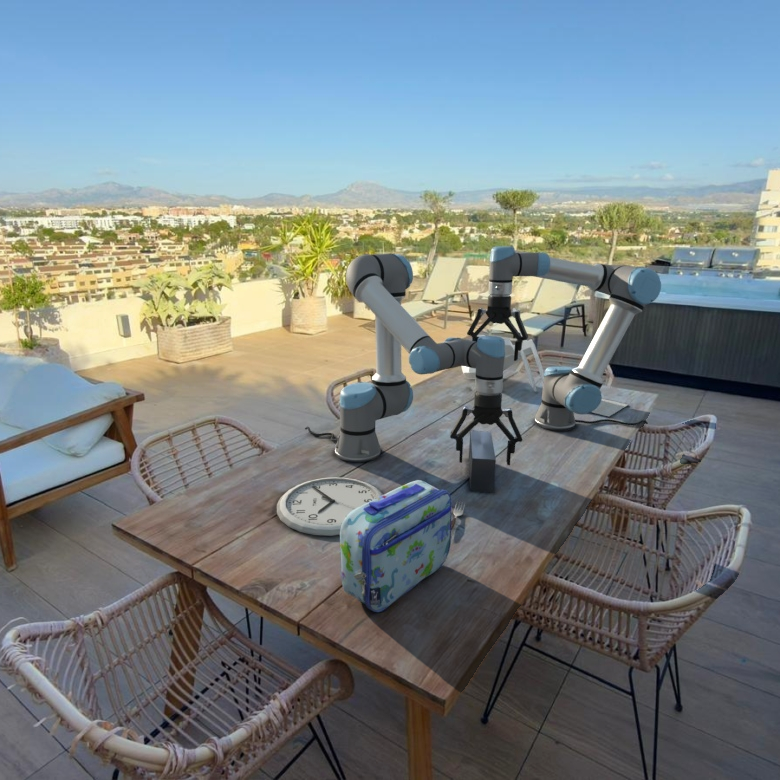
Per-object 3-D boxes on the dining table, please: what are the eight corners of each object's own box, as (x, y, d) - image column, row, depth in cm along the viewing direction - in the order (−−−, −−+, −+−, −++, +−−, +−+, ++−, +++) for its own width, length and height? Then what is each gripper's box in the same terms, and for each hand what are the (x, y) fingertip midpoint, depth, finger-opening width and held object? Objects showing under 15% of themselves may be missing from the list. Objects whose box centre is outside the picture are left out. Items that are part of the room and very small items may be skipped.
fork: (441, 537, 129) (441, 530, 128) (456, 506, 143) (456, 499, 142) (451, 539, 128) (452, 532, 127) (465, 508, 142) (466, 501, 142)
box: (468, 459, 172) (470, 430, 169) (488, 461, 172) (490, 431, 169) (470, 491, 152) (472, 458, 149) (493, 492, 151) (495, 459, 148)
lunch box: (369, 626, 100) (370, 530, 93) (334, 598, 107) (332, 507, 101) (455, 567, 117) (460, 483, 111) (419, 547, 124) (423, 467, 118)
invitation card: (608, 416, 214) (573, 407, 224) (608, 416, 214) (573, 408, 224) (628, 404, 229) (594, 396, 238) (628, 405, 229) (594, 397, 238)
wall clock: (392, 527, 129) (268, 531, 127) (391, 533, 130) (269, 537, 127) (383, 473, 158) (282, 475, 155) (383, 478, 158) (282, 480, 156)
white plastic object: (482, 420, 263) (461, 397, 239) (463, 347, 285) (443, 319, 261) (554, 396, 251) (539, 370, 226) (528, 322, 273) (513, 290, 249)
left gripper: (443, 394, 144) (440, 465, 150) (536, 397, 141) (530, 469, 147) (443, 386, 151) (441, 454, 157) (532, 389, 148) (526, 458, 154)
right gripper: (459, 294, 173) (457, 356, 180) (536, 298, 164) (530, 364, 170) (466, 291, 180) (463, 351, 186) (540, 295, 170) (534, 359, 176)
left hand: (484, 462), depth 152 cm, fingers open, 13 cm apart
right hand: (495, 357), depth 178 cm, fingers open, 13 cm apart
